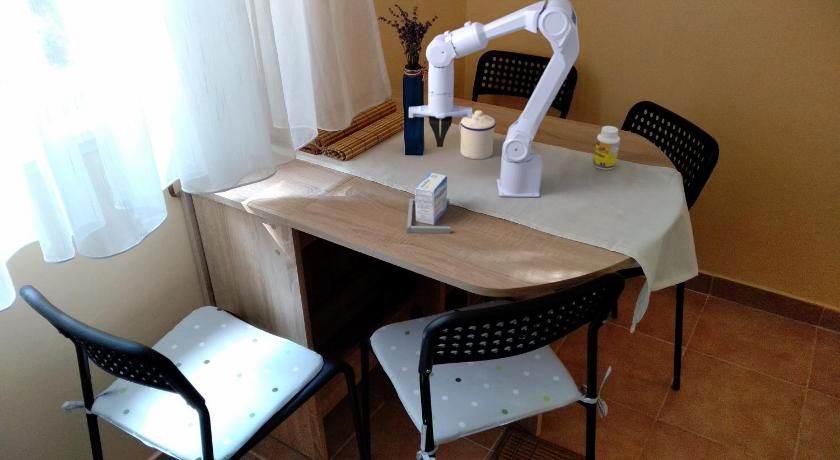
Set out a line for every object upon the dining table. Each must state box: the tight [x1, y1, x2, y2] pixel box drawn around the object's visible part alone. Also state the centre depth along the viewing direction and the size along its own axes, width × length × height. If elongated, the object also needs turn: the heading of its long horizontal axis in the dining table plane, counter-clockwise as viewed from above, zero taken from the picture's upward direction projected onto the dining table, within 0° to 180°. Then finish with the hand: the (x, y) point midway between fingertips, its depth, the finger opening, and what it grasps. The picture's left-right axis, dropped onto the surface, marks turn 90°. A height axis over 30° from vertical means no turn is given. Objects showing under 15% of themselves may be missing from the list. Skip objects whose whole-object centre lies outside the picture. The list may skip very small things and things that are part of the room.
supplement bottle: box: [592, 125, 621, 171], centre depth 159 cm, size 6×6×10 cm
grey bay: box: [406, 197, 451, 234], centre depth 141 cm, size 9×13×1 cm
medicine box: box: [414, 172, 448, 226], centre depth 139 cm, size 8×4×9 cm, turn 156°
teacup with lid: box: [458, 110, 496, 160], centre depth 167 cm, size 12×9×12 cm
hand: (439, 145), depth 151 cm, fingers closed
